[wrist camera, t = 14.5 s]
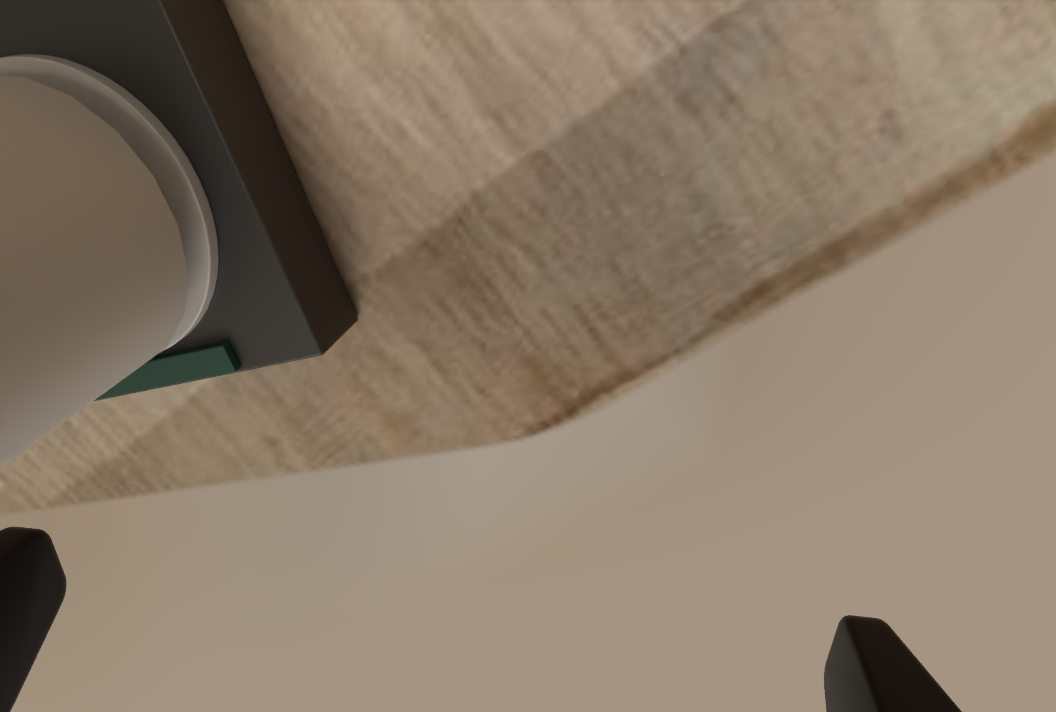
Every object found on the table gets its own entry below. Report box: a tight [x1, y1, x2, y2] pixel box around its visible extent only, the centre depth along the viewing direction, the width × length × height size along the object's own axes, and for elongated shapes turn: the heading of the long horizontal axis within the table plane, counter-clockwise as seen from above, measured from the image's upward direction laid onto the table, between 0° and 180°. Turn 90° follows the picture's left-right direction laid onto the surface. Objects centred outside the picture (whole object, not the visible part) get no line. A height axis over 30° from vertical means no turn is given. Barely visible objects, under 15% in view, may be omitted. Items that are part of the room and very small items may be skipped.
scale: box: [0, 0, 358, 401], centre depth 22 cm, size 10×10×3 cm
